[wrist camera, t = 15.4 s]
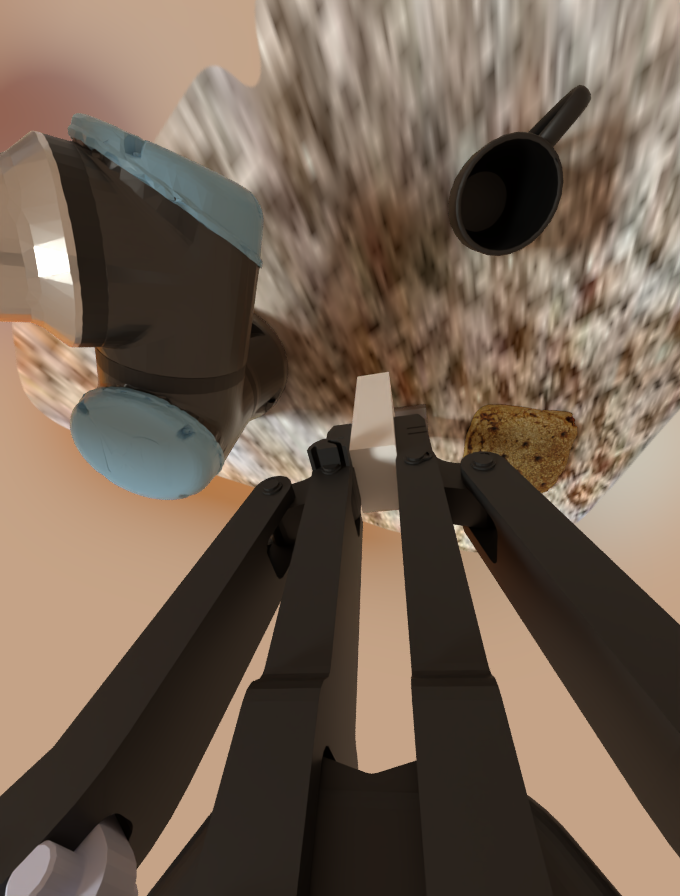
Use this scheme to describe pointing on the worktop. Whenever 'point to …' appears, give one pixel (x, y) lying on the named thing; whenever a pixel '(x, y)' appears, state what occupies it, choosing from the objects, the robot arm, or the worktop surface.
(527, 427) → the pastry
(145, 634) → the robot arm
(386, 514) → the worktop surface
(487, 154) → the mug
